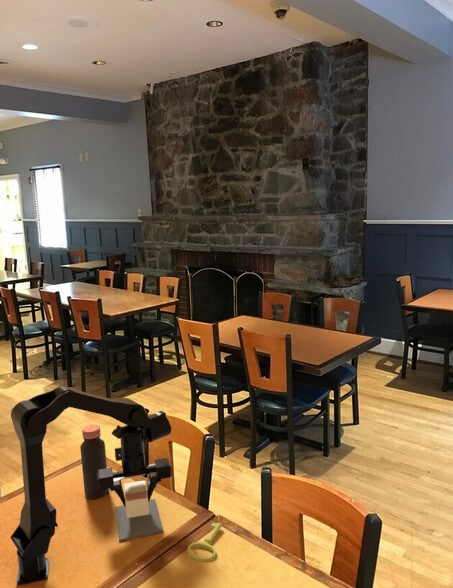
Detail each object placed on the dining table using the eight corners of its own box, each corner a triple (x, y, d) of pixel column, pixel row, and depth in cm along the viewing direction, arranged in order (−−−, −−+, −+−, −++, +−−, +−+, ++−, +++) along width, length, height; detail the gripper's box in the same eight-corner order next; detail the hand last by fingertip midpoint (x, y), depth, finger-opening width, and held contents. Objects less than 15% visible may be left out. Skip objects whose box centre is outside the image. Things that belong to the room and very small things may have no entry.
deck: (146, 495, 133) (145, 479, 132) (149, 514, 124) (147, 497, 123) (125, 498, 131) (124, 482, 130) (126, 518, 123) (125, 501, 122)
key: (222, 528, 124) (222, 521, 124) (215, 563, 112) (214, 555, 112) (195, 527, 125) (194, 519, 125) (184, 561, 113) (184, 553, 113)
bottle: (99, 483, 146) (94, 420, 143) (113, 491, 142) (108, 426, 138) (80, 493, 141) (73, 429, 138) (93, 502, 137) (87, 435, 133)
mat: (163, 532, 123) (163, 529, 123) (119, 541, 120) (118, 539, 120) (155, 500, 137) (155, 498, 136) (115, 508, 134) (114, 506, 133)
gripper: (163, 428, 135) (166, 480, 138) (94, 439, 130) (98, 493, 133) (170, 447, 124) (174, 502, 127) (95, 460, 119) (100, 517, 122)
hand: (136, 503), depth 127 cm, fingers closed on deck, 6 cm apart
